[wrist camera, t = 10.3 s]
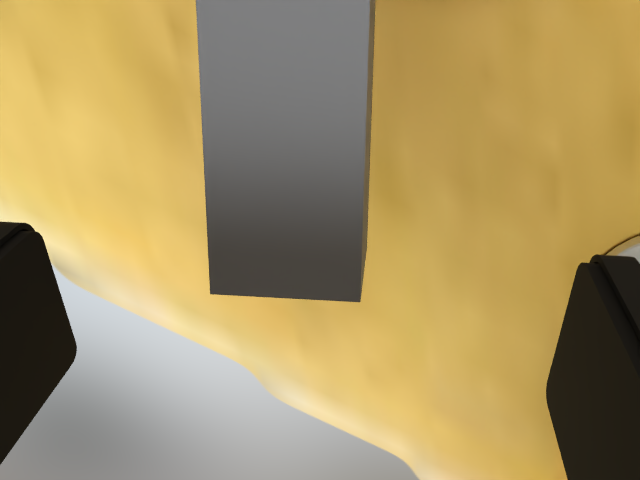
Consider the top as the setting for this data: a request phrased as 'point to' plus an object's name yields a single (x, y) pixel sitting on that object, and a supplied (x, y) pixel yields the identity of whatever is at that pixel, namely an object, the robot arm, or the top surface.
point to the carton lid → (286, 145)
